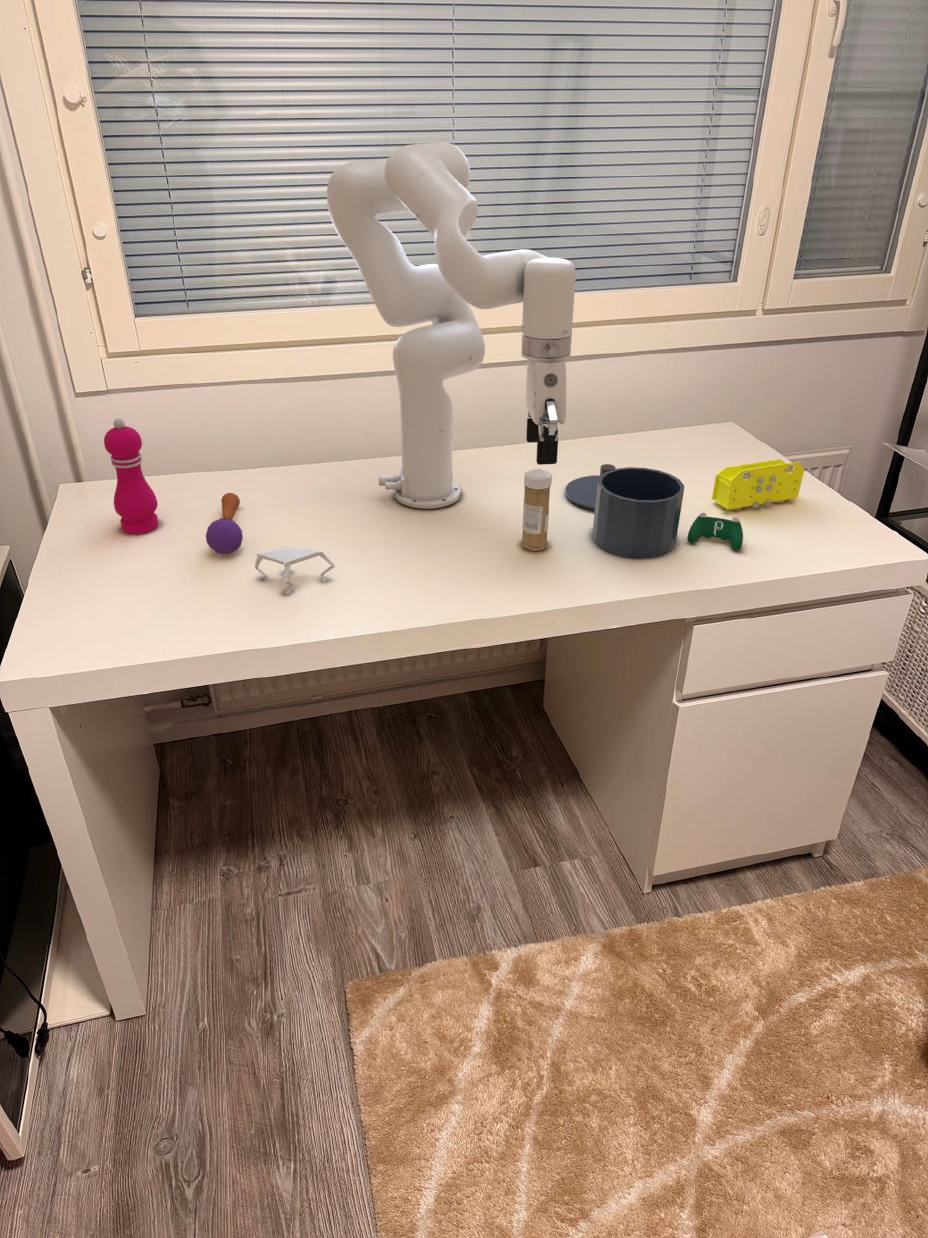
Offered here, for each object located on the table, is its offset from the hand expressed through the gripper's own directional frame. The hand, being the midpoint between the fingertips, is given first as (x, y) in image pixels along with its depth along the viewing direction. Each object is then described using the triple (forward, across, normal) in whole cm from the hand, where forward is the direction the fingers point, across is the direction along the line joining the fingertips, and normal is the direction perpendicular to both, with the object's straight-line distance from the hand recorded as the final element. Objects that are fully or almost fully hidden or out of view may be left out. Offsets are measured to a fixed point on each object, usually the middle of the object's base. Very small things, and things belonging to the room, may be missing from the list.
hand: (541, 452), depth 143 cm
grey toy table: (+17, -8, +40) cm, 45 cm away
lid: (+16, +19, -17) cm, 30 cm away
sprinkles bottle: (+17, 0, 0) cm, 17 cm away
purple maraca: (+17, +10, +53) cm, 57 cm away
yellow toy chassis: (+18, +14, -45) cm, 50 cm away
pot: (+17, +1, -18) cm, 25 cm away
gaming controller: (+18, -1, -32) cm, 36 cm away
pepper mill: (+17, +14, +69) cm, 73 cm away
